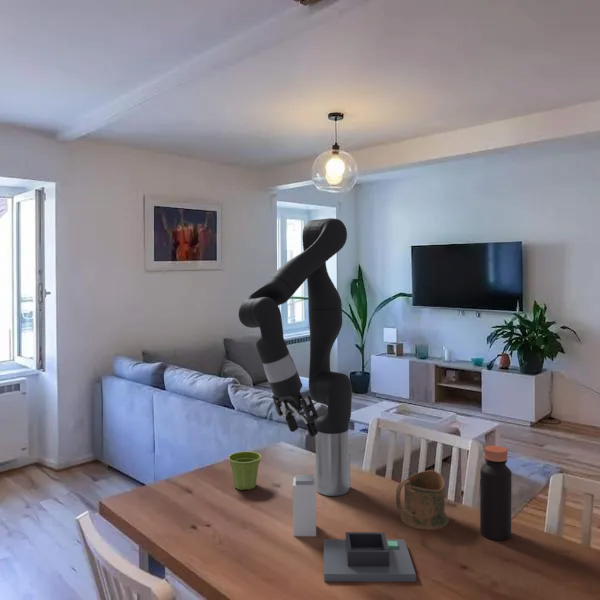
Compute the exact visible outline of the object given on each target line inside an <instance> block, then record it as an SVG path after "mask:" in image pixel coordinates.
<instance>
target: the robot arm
mask: <svg viewBox="0 0 600 600" xmlns="http://www.w3.org/2000/svg"><path fill="white" fill-rule="evenodd" d="M347 239H348V230H347V228H346V225H345V223H344V222H343V221H342V220H340V219H339V218H333V217H329V218H321V219H320V218H319V219H311V220H309V221H307V222H306V223H305V224H304V226H303V229H302V249H303V251H302V252H300V253H299V254H298V255H296V256H294V257H293V258H291V259H289V260H288V261H287V262H285V263H283V265H281V266H280V267H279V268H278V269H277V270H276V271H275V272H274V273H273V274H272V275H271V277H270V278H269V279H268V280H267V281H266V282H265V284H263V285H262V286H260V287H259V288H258V289H256V290H255V291H253V292H252V293H251V294H250V295H248V296H247V298H245V299H244V300H243V301H242V303H241V304H240V307H239V309H238V318H239V322H240V323H241V325H243V326H245V327H247V328H251V329H252V328H253V329H254V328H259V329H260V337H259V338H258V339H257V340H256V342H255V346H256V350H257V353H258V355H259V358H260V361H261V362H262V366H263V370H264V373H265V376H266V379H267V381H268V384H269V387H270V390H271V392H272V394H273V395H272V397H271V398H272V399H273V403H274V405H275V409H276V411H277V414H278V416H280V417H281V416H282V418H283V419H284V420H285V421H286V423H287V426H288V429H289V431H290V432H292V433H293V432H296V431H297V430H298V429H299V426H298V423H297V421H296V417H295V416H294V414H295V415H296V416H297V418H301V420H302V421H303V422H304V423H305V427H306V430H307V432H308V436H309V437H311V438H314V437H315V480H316V492H317V493H319V494H321V495H323V496H329V497H331V496H332V497H336V496H343V495H346V494H347V493H349V491H350V487H351V454H350V453H349V452H350V449H349V448H350V446H349V445H350V443H349V442H350V438H349V431H350V430H349V425H350V421H351V417H352V399H353V387H352V382H351V379H350V378H349V376H348V375H347V374H345V373H342V372H336V371H331V353H332V349H333V346H334V344H335V343H336V341H337V338H338V336H339V335H340V332H341V329H342V326H343V307H342V306H343V305H342V304H343V303H342V299H341V296H340V293H339V292H338V289H337V288H336V285H335V284H334V282H333V281H332V279H331V277H330V274H329V272H328V268H327V262H328V260H330V259H331V258H332V257H333V256H335V255H336V254H338V252H340V251H341V250H342V249H343V248H344V246H345V245H346V242H347ZM305 281H307V294H308V295H307V296H308V299H307V300H308V301H307V302H308V303H307V304H308V305H307V306H308V323H309V325H308V326H309V370H308V371H309V372H308V373H309V374H308V391H309V392H308V393H309V394H307V395H306V396H304V395H302V393H301V389H302V388H303V383H302V380H301V378H300V375H299V372H298V369H297V367H296V364H295V361H294V359H293V357H292V356H291V353H290V351H289V349H288V346H287V343H286V340H285V338H284V329H283V327H284V326H283V321H282V319H283V318H282V314H281V310H280V307H279V306H280V305H283V304H285V303H287V302H288V301H289V300H290V299H291V297H292V296H293V295H294V294H295V293H296V292H297V290H298V289H299V288H300V287H301V286H302V284H303V283H305ZM313 401H314V402H315V403H319V404H322V405H326V406H327V413H326V414H325V415H321V416H319V415H318V413H317V410H316V407H315V405H314V403H313Z"/></svg>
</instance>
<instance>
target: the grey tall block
mask: <svg viewBox="0 0 600 600" xmlns="http://www.w3.org/2000/svg"><path fill="white" fill-rule="evenodd" d="M316 492H317V490H316V476H314V474H295V476H294V477H293V480H292V509H293V510H292V511H293V512H292V513H293V514H292V515H293V519H292V521H293V537H317V502H316V501H317V495H316Z"/></svg>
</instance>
